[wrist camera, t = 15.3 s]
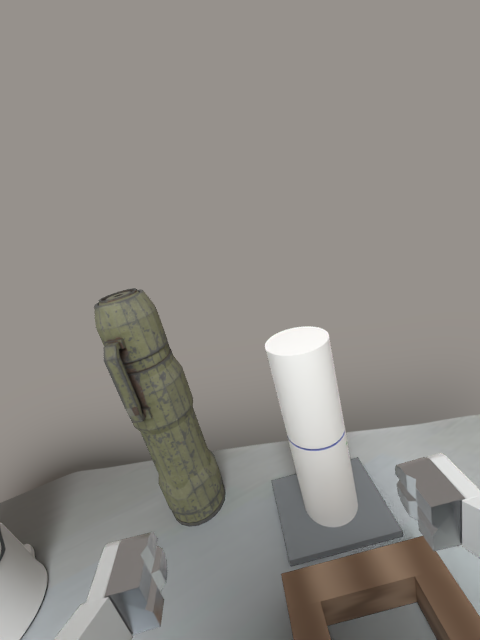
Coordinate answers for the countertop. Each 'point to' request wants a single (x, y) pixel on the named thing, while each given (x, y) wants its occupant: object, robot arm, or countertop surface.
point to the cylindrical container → (314, 422)
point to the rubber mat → (321, 541)
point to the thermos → (159, 404)
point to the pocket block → (379, 591)
